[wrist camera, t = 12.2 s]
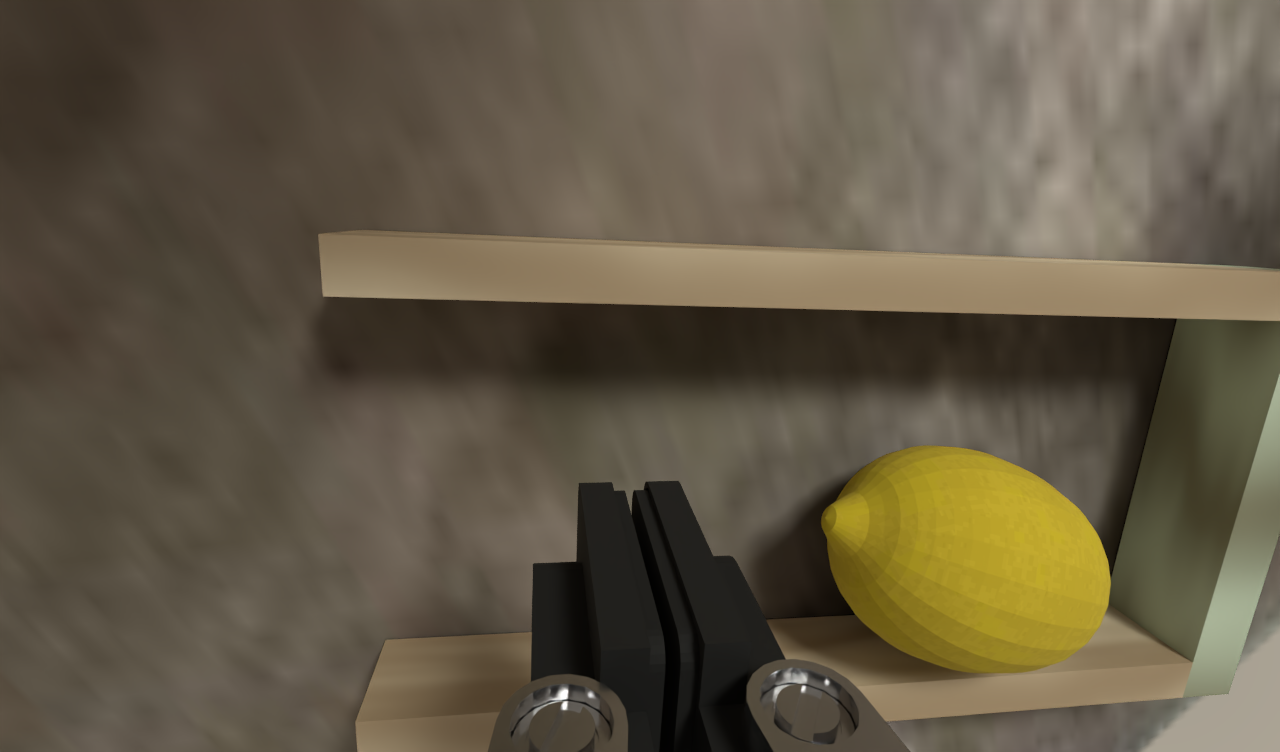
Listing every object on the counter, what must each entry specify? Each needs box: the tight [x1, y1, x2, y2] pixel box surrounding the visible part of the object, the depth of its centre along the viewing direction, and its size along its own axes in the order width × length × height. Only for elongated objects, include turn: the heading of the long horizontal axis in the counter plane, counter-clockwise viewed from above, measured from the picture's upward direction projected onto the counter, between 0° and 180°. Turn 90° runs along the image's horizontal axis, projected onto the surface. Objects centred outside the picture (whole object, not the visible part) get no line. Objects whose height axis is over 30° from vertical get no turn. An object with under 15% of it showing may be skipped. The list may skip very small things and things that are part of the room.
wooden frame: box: [318, 230, 1280, 752], centre depth 17 cm, size 12×25×3 cm, turn 87°
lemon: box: [821, 446, 1111, 673], centre depth 17 cm, size 6×6×8 cm
